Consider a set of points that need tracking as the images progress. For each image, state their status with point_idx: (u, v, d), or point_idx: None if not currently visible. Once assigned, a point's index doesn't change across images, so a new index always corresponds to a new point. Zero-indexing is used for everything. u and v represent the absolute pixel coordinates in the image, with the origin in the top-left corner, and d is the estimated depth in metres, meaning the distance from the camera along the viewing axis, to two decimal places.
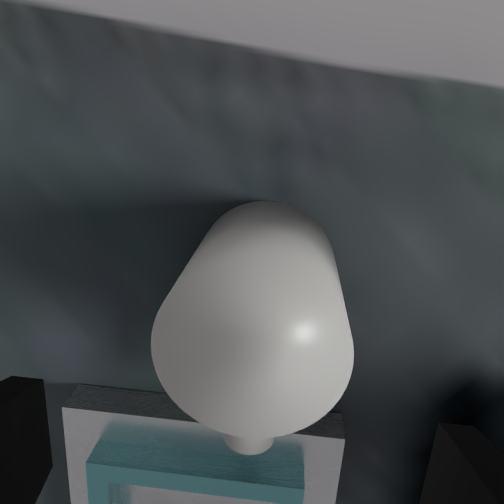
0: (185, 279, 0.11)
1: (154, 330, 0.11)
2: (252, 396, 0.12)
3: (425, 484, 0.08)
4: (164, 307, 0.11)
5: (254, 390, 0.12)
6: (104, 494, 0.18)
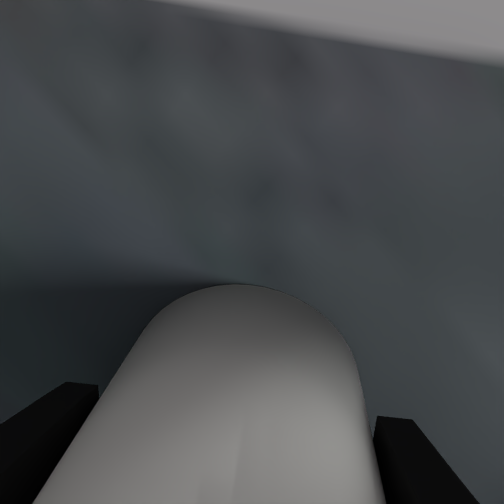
0: None
1: None
2: None
3: None
4: None
5: None
6: None
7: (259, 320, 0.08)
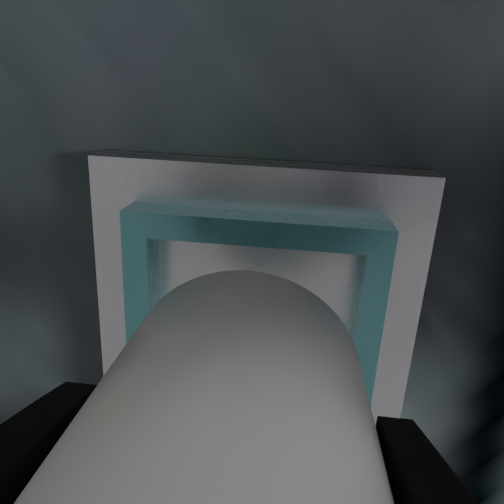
0: None
1: None
2: None
3: None
4: None
5: None
6: (142, 258, 0.14)
7: (265, 302, 0.08)
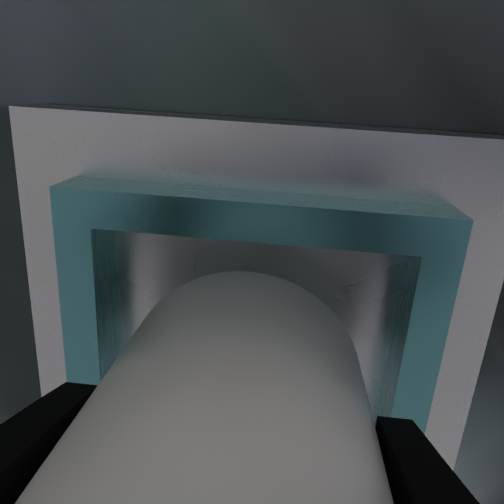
0: None
1: None
2: None
3: None
4: None
5: None
6: (86, 258, 0.10)
7: (264, 303, 0.08)
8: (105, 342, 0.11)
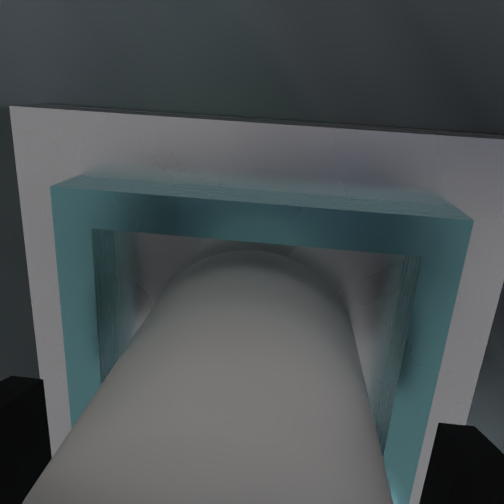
0: (67, 460, 0.05)
1: None
2: None
3: (425, 484, 0.08)
4: None
5: None
6: (86, 258, 0.10)
7: (270, 276, 0.09)
8: (105, 342, 0.11)
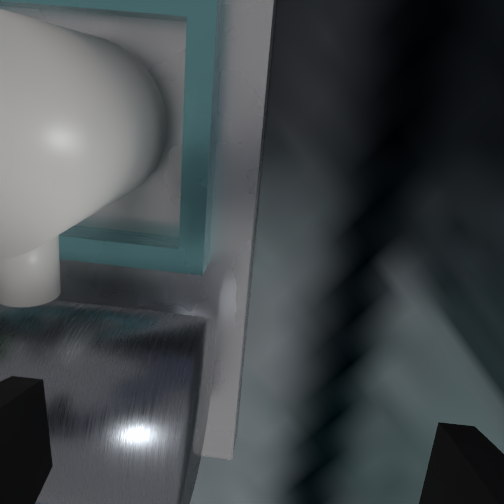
0: None
1: None
2: None
3: (425, 484, 0.08)
4: None
5: None
6: None
7: (78, 31, 0.12)
8: None
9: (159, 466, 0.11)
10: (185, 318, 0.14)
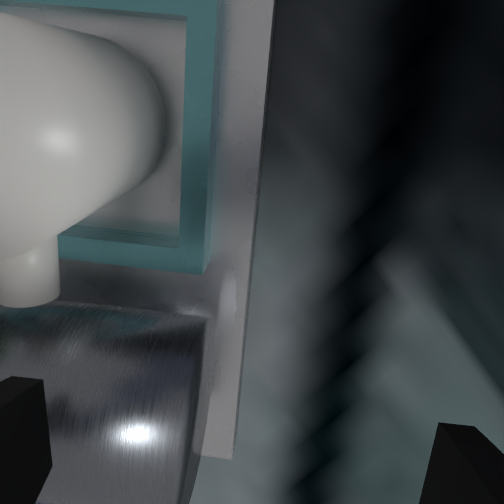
0: None
1: None
2: None
3: (425, 484, 0.08)
4: None
5: None
6: None
7: (75, 31, 0.12)
8: None
9: (159, 466, 0.11)
10: (185, 317, 0.14)
